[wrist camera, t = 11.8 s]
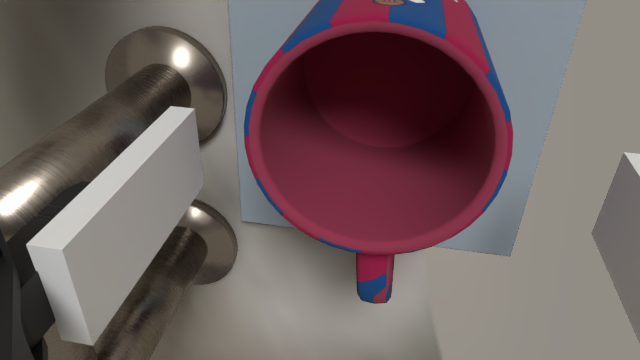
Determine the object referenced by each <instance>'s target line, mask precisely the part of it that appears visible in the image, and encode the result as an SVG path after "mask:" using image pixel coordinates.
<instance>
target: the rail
mask: <svg viewBox="0 0 640 360" xmlns="http://www.w3.org/2000/svg"><path fill="white" fill-rule="evenodd" d="M105 81H106V87H107V91H108V93H107V94H105V95H104V96H102V97H101V98H100V99H98V100H97V101H95V102H94V103H92V104H91V105H90V106H88V107H87V108H85V109H84V110H82V111H81V112H80V113H78V114H77V115H75V116H74V117H72V118H71V119H70V120H68V121H67V122H65V123H64V124H62V125H61V126H60V127H58V128H57V129H55V130H54V131H52V132H51V133H50V134H48V135H47V136H45V137H44V138H42V139H41V140H40V141H38V142H37V143H35V144H34V145H32V146H31V147H30V148H28V149H27V150H25V151H24V152H22V153H21V154H20V155H18V156H17V157H15V158H14V159H12V160H11V161H10V162H8V163H7V164H5V165H4V166H2V167H1V168H0V228H1V231H2V233H3V236H4V238H5V241H6V242H7V241H8V240H9V239H10V238H11V237H12V236H13V235H15V234H16V233H17V232H18V231H19V230H20V229H21V228H22V227H23V226H25V225H26V224H27V223H28V222H29V221H30V220H31V219H32V218H33V217H34V216H36V217H37V215H38V213H39V212H40V211H41V210H42V209H43V208H44V207H45V206H49V203H50V202H51V201H52V200H53V199H54V198H55V197H57V196H58V195H59V194H60V193H61V192H62V191H64V190H66V189H68V188H70V187H72V186H74V185H76V184H77V183H79V182H81V181H82V182H90V183H91V182H92V181H93V180H94V179H95V178H96V177H97V176H98V175H99V174H100V173H101V172H102V171H103V170H105V169H106V168H107V167H108V166H109V165H110V164H111V163H112V162H113V161H114V160H115V159H116V158H117V157H118V156H119V155H120V154H121V153H122V152H123V151H124V150H125V149H126V148H128V147H129V146H130V145H131V144H132V143H133V142H134V141H135V140H136V139H137V138H138V137H139V136H140V135H141V134H142V133H143V132H144V131H145V130H146V129H147V128H148V127H150V126H151V125H152V124H153V123H154V122H155V121H156V120H157V119H158V118H159V117H160V116H161V115H162V114H163V113H164V112H165V111H166V110H167V109H168V108H169V107H170V106H175V107H184V108H194V109H195V114H196V122H197V131H198V139H199V142H200V141H202V140H204V139H205V138H206V137H208V136H209V135H210V134H211V133H212V131H213V130H214V129H215V128H216V127H217V125H218V124H219V123H220V121H221V120H222V117H223V115H224V113H225V109H226V105H227V88H226V83H225V79H224V76H223V73H222V71H221V69H220V67H219V65H218V63H217V62H216V60H215V59H214V57H213V56H212V55H211V53H210V52H209V51H208V50H207V49H206V48H205V47H204V46H203V45H202V44H201V43H200V42H198V41H197V40H196V39H194V38H193V37H191V36H189V35H188V34H186V33H184V32H181V31H179V30H176V29H173V28H169V27H162V26H153V27H146V28H143V29H139V30H137V31H135V32H133V33H131V34H130V35H128V36H126V37H124V38H123V39H122V40H120V41H119V42H118V43H117V44H116V45H115V46H114V48H113V49H112V51H111V53H110V55H109V57H108V60H107V63H106V69H105ZM236 255H237V239H236V236H235V233H234V231H233V229H232V227H231V226H230V224H229V223H228V222H227V220H226V219H225V218H224V217H223V216H222V215H221V214H220V213H219V212H217V211H216V210H215V209H213V208H212V207H210V206H209V205H207V204H205V203H203V202H201V201H198V200H195V199H194V200H193V202H192V203H191V205H190V206H189V208H188V209H187V210H186V212H185V213H184V215H183V216H182V218H181V219H180V221H179V222H178V224H177V225H176V226H175V228H174V229H173V231H172V232H171V234H170V235H169V237H168V238H167V239H166V241H165V242H164V244H163V245H162V247H161V248H160V250H159V251H158V252H157V254H156V255H155V257H154V258H153V260H152V261H151V263H150V264H149V266H148V267H147V268H146V270H145V271H144V273H143V274H142V276H141V277H140V279H139V280H138V281H137V283H136V284H135V286H134V287H133V289H132V290H131V292H130V293H129V294H128V296H127V297H126V299H125V300H124V302H123V303H122V305H121V306H120V308H119V309H118V310H117V312H116V313H115V315H114V316H113V318H112V319H111V321H110V322H109V323H108V325H107V326H106V328H105V329H104V331H103V332H102V334H101V335H100V336H99V338H98V339H97V341H96V342H95V344H94V345H93V346H92V345H86V344H81V343H75V342H69V341H64V340H61V337H60V335H59V332H58V329H57V327H56V324H55V322H54V323H53V325H52V326H51V327H50V328H49V330H48V331H47V332H46V333H45V335H44V339H45V341H46V344H47V346H48V360H149V358H150V357H151V355H152V353H153V351H154V350H155V348H156V346H157V344H158V342H159V341H160V339H161V337H162V335H163V334H164V332H165V330H166V328H167V326H168V325H169V323H170V321H171V319H172V318H173V316H174V314H175V312H176V310H177V309H178V307H179V305H180V303H181V302H182V300H183V298H184V296H185V294H186V293H187V291H188V289H189V287H190V286H191V284H208V283H213V282H215V281H218V280H219V279H221V278H222V277H224V276H225V275H226V274H227V273H228V272H229V270H230V268H231V266H232V264H233V262H234V260H235V258H236Z"/></svg>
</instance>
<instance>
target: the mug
mask: <svg viewBox="0 0 640 360" xmlns="http://www.w3.org/2000/svg"><path fill="white" fill-rule="evenodd" d="M244 143H245V150H246V154H247V158H248V162H249V166H250V168H251V171H252V173H253V175H254V178H255V180H256V182H257V184H258V186H259V187H260V189H261V191H262V192H263V194H264V195H265V197H266V198H267V200H268V201H269V202H270V203H271V204H272V206H273V207H274V208H275V209H276V210H277V211H278V212H279V213H280V215H282V216H283V217H284V218H285V219H286V220H288V221H289V222H290V223H291V224H292V225H294V226H295V227H296V228H298V229H299V230H301V231H302V232H304V233H306V234H307V235H309V236H311V237H312V238H314V239H316V240H319V241H321V242H323V243H326V244H328V245H330V246H333V247H336V248H340V249H343V250H347V251H350V252H356V275H357V293H358V295H359V297H360V299H361V300H362V301H366V302H370V303H374V304H376V303H387V301H388V300H389V299H390V298H391V292H392V281H393V268H394V255H395V254H402V253H409V252H415V251H418V250H422V249H425V248H429V247H432V246H435V245H437V244H439V243H441V242H443V241H446V240H448V239H450V238H452V237H454V236H455V235H457V234H458V233H460V232H461V231H463V230H464V229H466V228H467V227H469V226H470V225H471V224H472V223H473V222H474V221H475V220H476V219H477V218H479V217H480V216H481V215H482V214H483V213H484V212H485V211H486V209H487V208H488V207H489V205H490V204H491V203H492V201H493V200H494V199H495V197H496V196H497V194H498V192H499V190H500V188H501V186H502V184H503V182H504V180H505V178H506V176H507V172H508V169H509V165H510V161H511V157H512V148H513V128H512V121H511V114H510V110H509V107H508V104H507V101H506V99H505V96H504V93H503V90H502V87H501V85H500V82H499V79H498V76H497V74H496V71H495V68H494V65H493V63H492V60H491V57H490V54H489V52H488V49H487V46H486V43H485V40H484V38H483V35H482V32H481V29H480V27H479V24H478V21H477V19H476V17H475V15H474V13H473V12H472V10H471V8H470V7H469V5H468V4H467V2H466V1H465V0H319V1H318V2H317V3H316V4H315V6H314V7H313V8H312V9H311V10H310V12H309V13H308V14H307V15H306V17H305V18H304V19H303V20H302V21H301V23H300V24H299V25H298V26H297V28H296V29H295V30H294V31H293V32H292V34H291V35H290V36H289V37H288V39H287V40H286V41H285V42H284V43H283V45H282V46H281V47H280V48H279V50H278V51H277V52H276V53H275V54H274V56H273V57H272V58H271V59H270V61H269V62H268V63H267V64H266V65H265V67H264V68H263V70H262V72H261V74H260V75H259V77H258V79H257V80H256V82H255V84H254V86H253V88H252V91H251V94H250V97H249V100H248V103H247V106H246V113H245V120H244Z"/></svg>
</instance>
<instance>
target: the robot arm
mask: <svg viewBox="0 0 640 360" xmlns="http://www.w3.org/2000/svg"><path fill="white" fill-rule="evenodd" d="M203 186H204V182H203V173H202V165H201V156H200V148H199V139H198V131H197V122H196V114H195V109H194V108H184V107H175V106H170V107H169V108H168V109H167V110H166V111H165V112H164V113H163V114H162V115H161V116H160V117H159V118H158V119H157V120H156V121H155V122H154V123H153V124H152V125H151V126H150V127H148V128H147V129H146V130H145V131H144V132H143V133H142V134H141V135H140V136H139V137H138V138H137V139H136V140H135V141H134V142H133V143H132V144H131V145H130V146H129V147H128V148H126V149H125V150H124V151H123V152H122V153H121V154H120V155H119V156H118V157H117V158H116V159H115V160H114V161H113V162H112V163H111V164H110V165H109V166H108V167H107V168H106V169H105V170H103V171H102V172H101V173H100V174H99V175H98V176H97V177H96V178H95V179H94V180H93V181H92V182H91V183H90V182H82V181H81V182H79V183H77V184H76V185H74V186H72V187H70V188H68V189H66V190H64V191H62V192H61V193H60V194H59V195H58V196H57V197H55V198H54V199H53V200H52V201H51V202H50V203H49V206H45V207H44V208H43V209H42V210H41V211H40V212H39V213H38V215H37V217H36V216H34V217H33V218H32V219H31V220H30V221H29V222H28V223H27V224H26V225H25V226H23V227H22V228H21V229H20V230H19V231H18V232H17V233H16V234H15V235H13V236H12V237H11V238H10V239H9V240H8V241H7V242H6V241H5V238H4V236H3V233H2V231H1V228H0V360H48V346H47V344H46V341H45V339H44V335H45V333H46V332H47V331H48V330H49V328H50V327H51V326H52V325H53V323H54V322H55V324H56V327H57V329H58V332H59V335H60V337H61V340H64V341H69V342H75V343H81V344H86V345H92V346H93V345H94V344H95V342H96V341H97V339H98V338H99V336H100V335H101V334H102V332H103V331H104V329H105V328H106V326H107V325H108V323H109V322H110V321H111V319H112V318H113V316H114V315H115V313H116V312H117V310H118V309H119V308H120V306H121V305H122V303H123V302H124V300H125V299H126V297H127V296H128V294H129V293H130V292H131V290H132V289H133V287H134V286H135V284H136V283H137V281H138V280H139V279H140V277H141V276H142V274H143V273H144V271H145V270H146V268H147V267H148V266H149V264H150V263H151V261H152V260H153V258H154V257H155V255H156V254H157V252H158V251H159V250H160V248H161V247H162V245H163V244H164V242H165V241H166V239H167V238H168V237H169V235H170V234H171V232H172V231H173V229H174V228H175V226H176V225H177V224H178V222H179V221H180V219H181V218H182V216H183V215H184V213H185V212H186V210H187V209H188V208H189V206H190V205H191V203H192V202H193V200H194V199H195V197H196V196H197V195H198V193H199V192H200V190H201V189H202V187H203ZM592 235H593V238H594V240H595V242H596V244H597V247H598V249H599V251H600V254H601V256H602V258H603V260H604V263H605V265H606V267H607V270H608V272H609V274H610V276H611V279H612V281H613V283H614V286H615V288H616V290H617V293H618V295H619V297H620V300H621V302H622V304H623V306H624V309H625V311H626V313H627V315H628V318H629V320H630V322H631V325H632V327H633V329H634V332H635V334H636V336H637V339H638V341H639V343H640V154H635V153H625V152H624V153H623V156H622V158H621V161H620V163H619V166H618V168H617V171H616V174H615V176H614V178H613V181H612V183H611V186H610V188H609V191H608V193H607V196H606V199H605V201H604V204H603V206H602V209H601V211H600V213H599V216H598V218H597V221H596V224H595V226H594V229H593V231H592Z"/></svg>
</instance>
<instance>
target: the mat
mask: <svg viewBox="0 0 640 360" xmlns="http://www.w3.org/2000/svg"><path fill="white" fill-rule="evenodd" d="M318 1H319V0H228V3H229V20H230V37H231V53H232V70H233V86H234V103H235V120H236V136H237V153H238V170H239V186H240V203H241V219H242V221H247V222H254V223H262V224H269V225H277V226H284V227H292V228H296V227H295V226H294V225H292V224H291V223H290V222H289V221H288V220H286V219H285V218H284V217H283V216H282V215H280V213H279V212H278V211H277V210H276V209H275V208H274V207H273V206H272V204H271V203H270V202H269V201H268V200H267V198H266V197H265V195H264V194H263V192H262V191H261V189H260V187H259V186H258V184H257V182H256V180H255V178H254V175H253V173H252V171H251V168H250V166H249V162H248V158H247V154H246V150H245V143H244V120H245V113H246V106H247V103H248V100H249V97H250V94H251V91H252V88H253V86H254V84H255V82H256V80H257V79H258V77H259V75H260V74H261V72H262V70H263V68H264V67H265V65H266V64H267V63H268V62H269V61H270V59H271V58H272V57H273V56H274V54H275V53H276V52H277V51H278V50H279V48H280V47H281V46H282V45H283V43H284V42H285V41H286V40H287V39H288V37H289V36H290V35H291V34H292V32H293V31H294V30H295V29H296V28H297V26H298V25H299V24H300V23H301V21H302V20H303V19H304V18H305V17H306V15H307V14H308V13H309V12H310V10H311V9H312V8H313V7H314V6H315V4H316V3H317V2H318ZM465 1H466V2H467V4H468V5H469V7H470V8H471V10H472V12H473V13H474V15H475V17H476V19H477V21H478V24H479V27H480V29H481V32H482V35H483V38H484V40H485V43H486V46H487V49H488V52H489V54H490V57H491V60H492V63H493V65H494V68H495V71H496V74H497V76H498V79H499V82H500V85H501V87H502V90H503V93H504V96H505V99H506V101H507V104H508V107H509V110H510V114H511V121H512V128H513V148H512V157H511V161H510V165H509V169H508V172H507V176H506V178H505V180H504V182H503V184H502V186H501V188H500V190H499V192H498V194H497V196H496V197H495V199H494V200H493V201H492V203H491V204H490V205H489V207H488V208H487V209H486V211H485V212H484V213H483V214H482V215H481V216H480V217H479V218H477V219H476V220H475V221H474V222H473V223H472V224H471V225H470V226H469V227H467V228H466V229H464V230H463V231H461V232H460V233H458V234H457V235H455V236H454V237H452V238H450V239H448V240H446V241H443V242H441V243H439V244H437V245H435V247H443V248H450V249H458V250H465V251H473V252H480V253H487V254H495V255H503V256H511V252H512V249H513V245H514V242H515V239H516V235H517V232H518V229H519V225H520V222H521V219H522V215H523V212H524V208H525V205H526V202H527V198H528V195H529V192H530V188H531V185H532V181H533V178H534V175H535V172H536V168H537V165H538V161H539V158H540V155H541V151H542V148H543V145H544V141H545V137H546V135H547V131H548V128H549V124H550V121H551V118H552V114H553V111H554V107H555V104H556V101H557V98H558V94H559V91H560V87H561V84H562V81H563V77H564V74H565V71H566V67H567V64H568V61H569V57H570V54H571V51H572V47H573V44H574V40H575V37H576V33H577V30H578V27H579V24H580V20H581V17H582V13H583V10H584V7H585V4H586V0H465Z"/></svg>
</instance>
